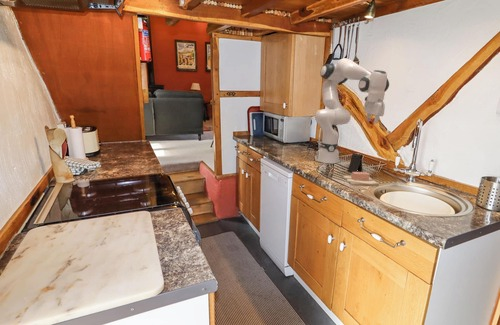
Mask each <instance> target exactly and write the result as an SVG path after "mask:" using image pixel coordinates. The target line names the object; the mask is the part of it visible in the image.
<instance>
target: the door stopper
mask: <svg viewBox="0 0 500 325" xmlns="http://www.w3.org/2000/svg"><path fill="white" fill-rule="evenodd" d="M357 170H358V171H357ZM347 172H350V173H352V172H364V171H363V154H359V153H355V152H354V153H353V152H352V154H351V159H350V162H349V165H348V167H347Z"/></svg>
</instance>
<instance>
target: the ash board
mask: <svg viewBox="0 0 500 325" xmlns="http://www.w3.org/2000/svg"><path fill="white" fill-rule="evenodd" d="M351 177H352V174H351V175H348V174H342V179H344V180H345V182H347V183H348V184H349V185H350V186H363V187H364V186H365V187H367V186H368V187H379V183H378V182H377V181H375V180H374V179H372V178H371V177H370V176H369V181H363V180H353V179H352V178H351Z"/></svg>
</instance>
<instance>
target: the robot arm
mask: <svg viewBox="0 0 500 325" xmlns="http://www.w3.org/2000/svg"><path fill="white" fill-rule="evenodd" d="M320 77H321V78H322V79H324V81H323V83H322V88H321V94H322V103H323V105H324V107H326V108H322V109H318V110H317V111H316V113H315V114H314V120H315V122H316V123H317V124H318V125H319V127H320V128H321V131H322V141H321V143H320V148H319V149H318V150H316V151H315V154H316V155H314V161H315V162H318V163H319V162H320V163H323V164H332V165H333V164H337V163H340V162H341V160H340V159H339V155H340V152H339V150H338V146H339V143H338V141H339V132H338V131H337V130H336V129H334V128H333V125H336V126H338V125H339V126H340V125H347V124H348V123H349V122H350V121H351V116H352V115H351V113H350V111H349V110H347V109H346V108H344V107H343V105H342V104H341V102H340V100H339V93H338V85H339V86H342V84H344V83H346V82H347V81H348V80H351V81H352V80H355V81H359V82H358V89H359V91H360V92H361V93H368V94H367V95H366V96H365V97H364V105H363V111H364V112H363V113H365V114H366V121H367V122H371V120H372V117H371V116H374V119H373V124H378V122H379V119H380V117H383V116H384V115H385V107H386V106H385V102H384V101H385V92H387V90H388V89H389V87H390V81H389V79H388V73H387V72H386V71H384V70H380V69H377V70H376V69H374V70H373V71H369V70H368V69H366V68H364V67H363V66H361V65H360V64H358V63H356V62H355V61H353V60H351V59H349V58H345V57H344V58H341V59H339V60H338V61H337V63H336V64H335V63H333V62H331V63H326V64H324V65H322V66H321V69H320Z"/></svg>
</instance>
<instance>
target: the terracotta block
mask: <svg viewBox="0 0 500 325" xmlns="http://www.w3.org/2000/svg"><path fill="white" fill-rule="evenodd" d="M351 175H352V177H351V178H352V179H353V180H363V181H369V177H370V173H369V172H366V171H362V172H351Z"/></svg>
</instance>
